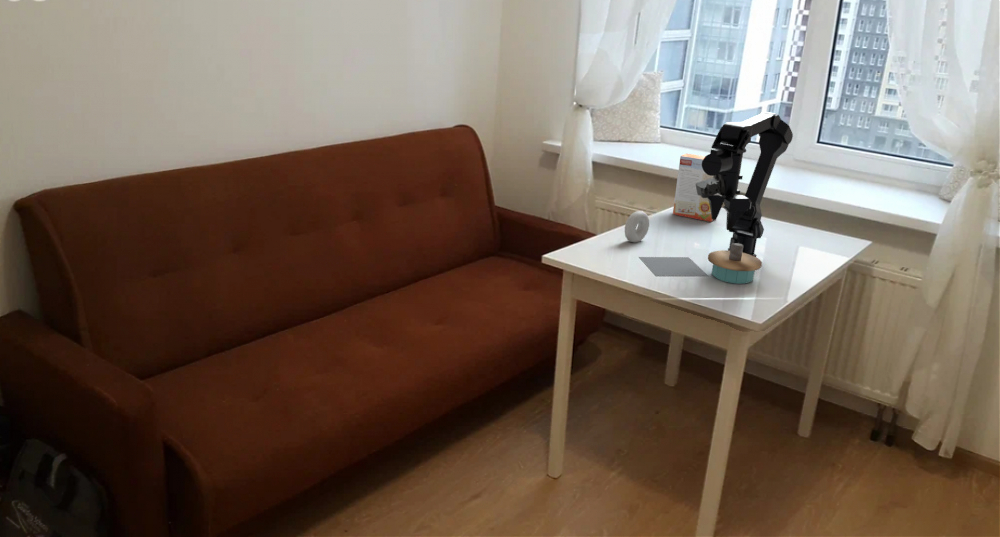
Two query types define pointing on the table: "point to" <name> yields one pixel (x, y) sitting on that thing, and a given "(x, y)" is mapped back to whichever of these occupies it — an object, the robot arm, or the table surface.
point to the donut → (631, 224)
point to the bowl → (732, 275)
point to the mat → (672, 266)
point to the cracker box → (691, 189)
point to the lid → (735, 259)
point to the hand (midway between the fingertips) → (721, 224)
